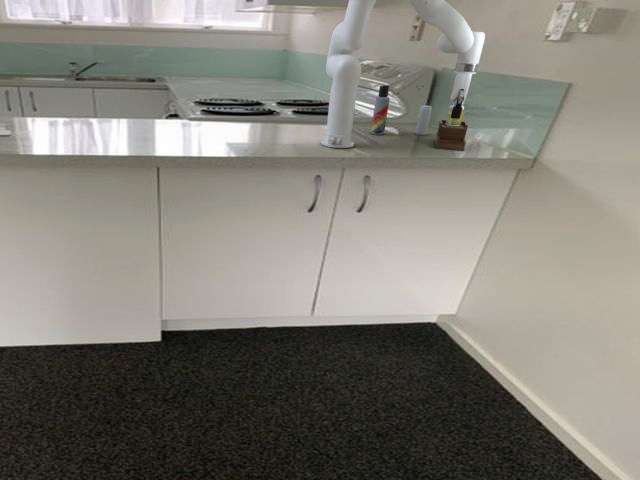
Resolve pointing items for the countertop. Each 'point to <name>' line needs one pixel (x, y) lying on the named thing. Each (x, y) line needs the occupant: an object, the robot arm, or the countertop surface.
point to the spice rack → (451, 136)
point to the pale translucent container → (423, 120)
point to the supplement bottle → (453, 121)
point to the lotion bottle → (380, 111)
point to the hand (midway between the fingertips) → (454, 116)
